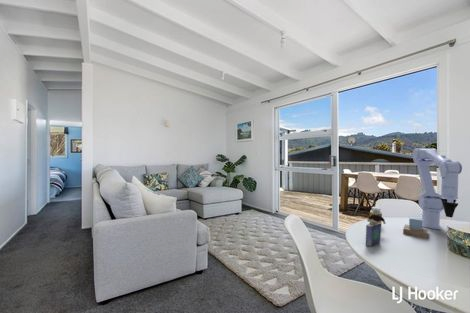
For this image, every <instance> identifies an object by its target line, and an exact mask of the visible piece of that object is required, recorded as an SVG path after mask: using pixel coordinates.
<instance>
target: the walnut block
mask: <svg viewBox="0 0 470 313" xmlns="http://www.w3.org/2000/svg"><path fill="white" fill-rule="evenodd" d="M402 230H403V232H402V234H403V235H408V236H413V237H417V238H423V239H428V233H429V232H428V230H429V228H427V227H422V231H420V230H414V229H409V224H404V226H403V229H402Z"/></svg>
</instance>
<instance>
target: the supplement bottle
mask: <svg viewBox="0 0 470 313" xmlns="http://www.w3.org/2000/svg"><path fill="white" fill-rule="evenodd" d="M374 208H378V209H379V210H380V211H381V208H380V207H378V206H372V207H371V210H370V211H369V217H370V216H371V215H374V213H373V209H374ZM379 216H381V217H382V218H383V213H382V211H381V212H380V213H379ZM371 221H372V220H371ZM371 221H369V222H368V224H370V223H371ZM380 223H381V225H382V223H383V222H382V221H381V220H380Z"/></svg>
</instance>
